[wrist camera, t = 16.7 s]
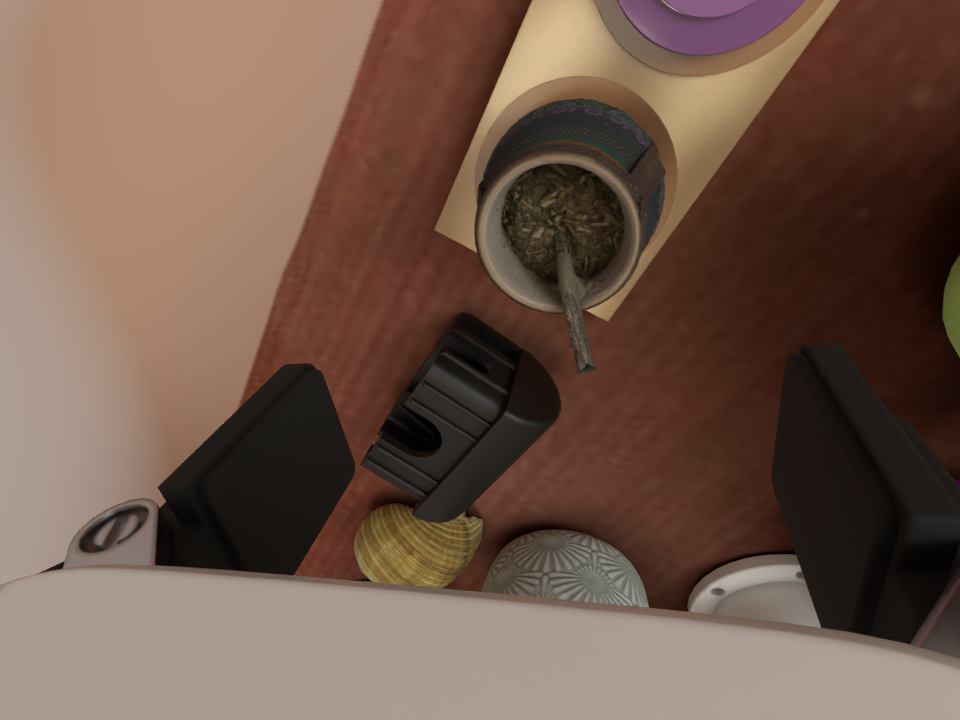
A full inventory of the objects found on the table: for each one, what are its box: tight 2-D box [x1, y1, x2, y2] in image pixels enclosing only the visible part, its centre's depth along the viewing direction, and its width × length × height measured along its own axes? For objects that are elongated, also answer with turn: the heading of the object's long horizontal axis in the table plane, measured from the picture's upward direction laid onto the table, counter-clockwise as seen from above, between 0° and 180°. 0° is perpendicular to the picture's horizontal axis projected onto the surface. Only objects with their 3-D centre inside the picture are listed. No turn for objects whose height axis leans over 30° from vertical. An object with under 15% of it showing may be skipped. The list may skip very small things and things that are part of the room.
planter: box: [481, 529, 649, 608], centre depth 36 cm, size 12×12×11 cm
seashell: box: [354, 503, 484, 588], centre depth 39 cm, size 10×7×8 cm
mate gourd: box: [474, 98, 666, 375], centre depth 20 cm, size 7×8×10 cm
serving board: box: [434, 0, 840, 322], centre depth 22 cm, size 10×20×2 cm, turn 155°
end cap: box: [360, 313, 561, 523], centre depth 30 cm, size 10×7×7 cm
